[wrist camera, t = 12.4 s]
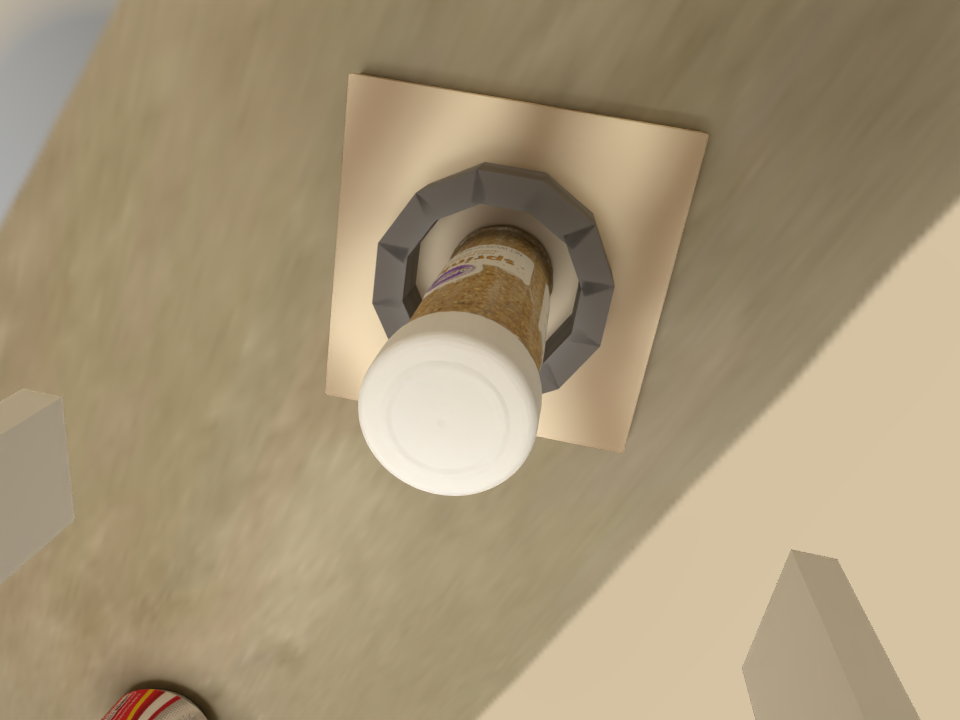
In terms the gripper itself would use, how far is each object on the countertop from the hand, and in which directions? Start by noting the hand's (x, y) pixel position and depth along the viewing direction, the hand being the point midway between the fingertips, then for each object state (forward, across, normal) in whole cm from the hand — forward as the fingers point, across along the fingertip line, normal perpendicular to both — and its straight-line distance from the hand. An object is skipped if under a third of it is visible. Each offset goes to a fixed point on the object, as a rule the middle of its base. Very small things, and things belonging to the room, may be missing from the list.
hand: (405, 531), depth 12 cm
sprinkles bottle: (+18, 0, 0) cm, 18 cm away
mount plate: (+20, 0, 0) cm, 20 cm away
